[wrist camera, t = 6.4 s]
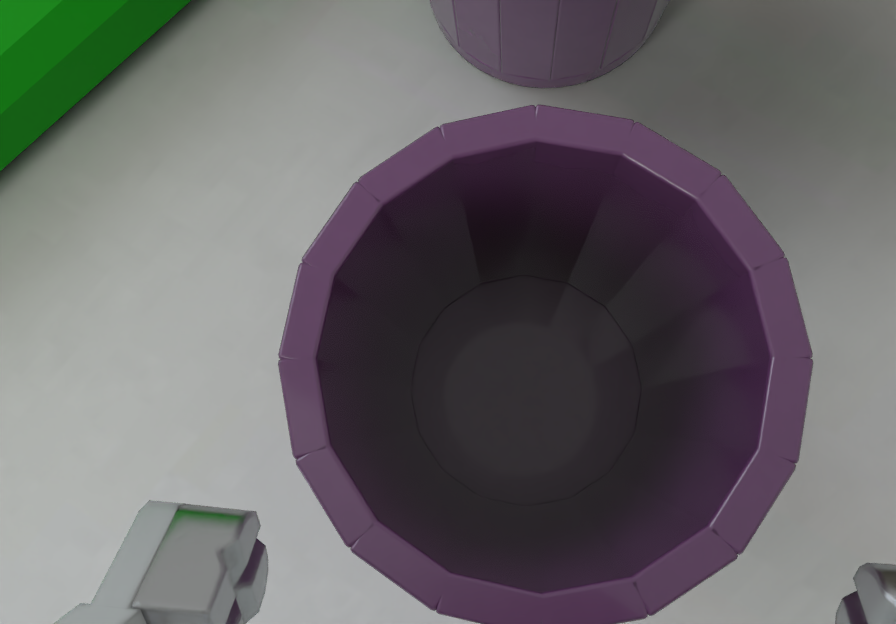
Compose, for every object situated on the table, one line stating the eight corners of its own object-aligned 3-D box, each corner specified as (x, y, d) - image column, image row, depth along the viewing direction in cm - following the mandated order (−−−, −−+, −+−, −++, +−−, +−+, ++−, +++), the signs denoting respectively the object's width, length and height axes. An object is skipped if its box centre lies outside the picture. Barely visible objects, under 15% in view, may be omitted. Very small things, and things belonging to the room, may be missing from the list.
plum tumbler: (706, 352, 19) (913, 284, 9) (562, 576, 19) (620, 750, 9) (488, 214, 20) (467, 18, 10) (346, 424, 20) (180, 429, 10)
